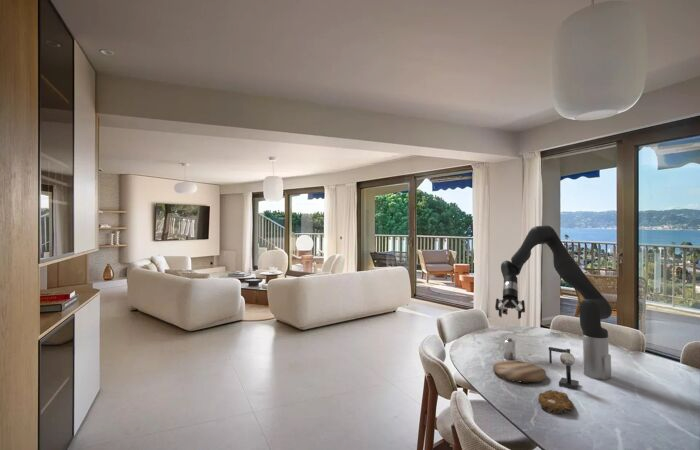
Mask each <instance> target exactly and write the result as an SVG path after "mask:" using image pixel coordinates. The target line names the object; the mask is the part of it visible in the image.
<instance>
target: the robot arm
mask: <svg viewBox="0 0 700 450" xmlns="http://www.w3.org/2000/svg"><path fill="white" fill-rule="evenodd" d="M545 244H546V245H547V246H548V248H549V250H551V252H552V254H553V255H552V257H553V261H552V263H553V267H554V269H555V271H556V273H557V275H558V276H559V277H560V279H561V280H562V281H564V283H566V284H567V285H569V286H570V287H572V288H573V289H574V290H575V291H577V292H578V293H579V294H580V295H581V296H582V297H583V298H584V299H583V300H581V301H580V303H579V307H578V316H579V324H580V325H579V327H580V328H581V330H582V349H583V352H582V353H583V355H582V356H583V374H584V376H587V377H590V378H592V379H595V380H603V381H607V380H608V379H610V378H612V355H611V354H610V351H609V332H608V330H607V329H606V328H604V327H602V321H601V320H605V319H609V318H610V317H611V316H612V313H613V309H612V306H611V305H610V303H609V301H608V300H607V299H606V297H604V296H603V294H602V293H600V291H599V290H598V289H597V288H596V287H595V286H594V285H593V283H592V281H590V280H589V278H588V276H586V274H585V272H584V271H583V270H582V269H581V267H580V266H579V264H578V263H577V261H576V260H575V259H574V258H573V257H572V256H571V254H570V252H569V251H568V249H567V248H566V247H565V245H564V244H563V242H562V240H561V238H560V236H559V235H558V234H557V232H556V231H555V229H554V228H553V227H552V226H550V225H536V226H533V227H532V228H530V230H529V231H528V233H527V235H526V236H525V238H524V239H523V242H522V244H521V246H520V247H519V248H518V249H517V251H516V252H515V253H514V254H513V255H512V257H511V258H510V261H509V260H504V261H502V262H501V264H500V271H501V274H502V278H503V284H502V285H503V286H502V299H499V298H496V299H495V311H498V317H500V318H502V316H503V315H502V314H503V310H505V309H512V310H513V309H514V310H515V311H516V312H517V319H518V320H521V318H522V313H526V307H525V300H524V299H522V300H519V287H518V282H519V281H518V277H517V276H518V275H519V276H520V274H521V271H522V268H523V266H524V265H525V264H526V263H527V261H528V260H529V259H530V258H531V255H532V249H533V248H535V247H536V246H538V245H545ZM500 304H501V305H500ZM499 305H500V306H499ZM519 305H520V306H521V308H520V306H519Z"/></svg>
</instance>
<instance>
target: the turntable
mask: <svg viewBox="0 0 700 450" xmlns="http://www.w3.org/2000/svg"><path fill="white" fill-rule="evenodd" d="M492 367H493V372H494V373H495V375H498V376H499V377H501V378H503V377H504V378H503V379H505V378H506V379H505V380H508V379H510V380H509V381H511V380H514V381H513V382H515V381H521V382H520V383H522V382H533V383H538V382H542V381H544V380H545V379H546V378H547V372H546V370H545V369H544V368H543V367H541V366H539V365H536V364H533V363H529V362H526V361H521V360H517V361H502V360H501V361H497V362H495V363H494V364H493V366H492Z"/></svg>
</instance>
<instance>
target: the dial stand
mask: <svg viewBox="0 0 700 450" xmlns="http://www.w3.org/2000/svg"><path fill="white" fill-rule="evenodd" d="M548 351H549V353H548V354H549V355H548V356H549V357H548V358H549V360H548V361H549V364H551V365H552V362H553V360H552V352H556V353H560V354H561V355H560V357H559V360H560V362H561V363H562V364H563V365H564V366H565V369H566V370H565V371H566V372H565V373H566V375H565V376H566V377H560V378H561V379H560V380H559V381H558V386H559V387H562V386H564V388H567V387H568V389H571V390H577V389H578V387H579V386H580V385H579V384H580V381H579V380H577V379H572V369H571V366H572V365H574V363H575V360H576V359H575V357H574V355H573V353H571V349H570V348H565V349H564V348H558V347H552V346H549V347H548Z"/></svg>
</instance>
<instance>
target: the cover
mask: <svg viewBox="0 0 700 450" xmlns="http://www.w3.org/2000/svg"><path fill="white" fill-rule="evenodd" d="M502 359H503V360H504V361H518V358H517V357H516V340H514V339H513V338H511V337H506V339H503V357H502ZM502 359H501V360H502Z"/></svg>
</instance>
